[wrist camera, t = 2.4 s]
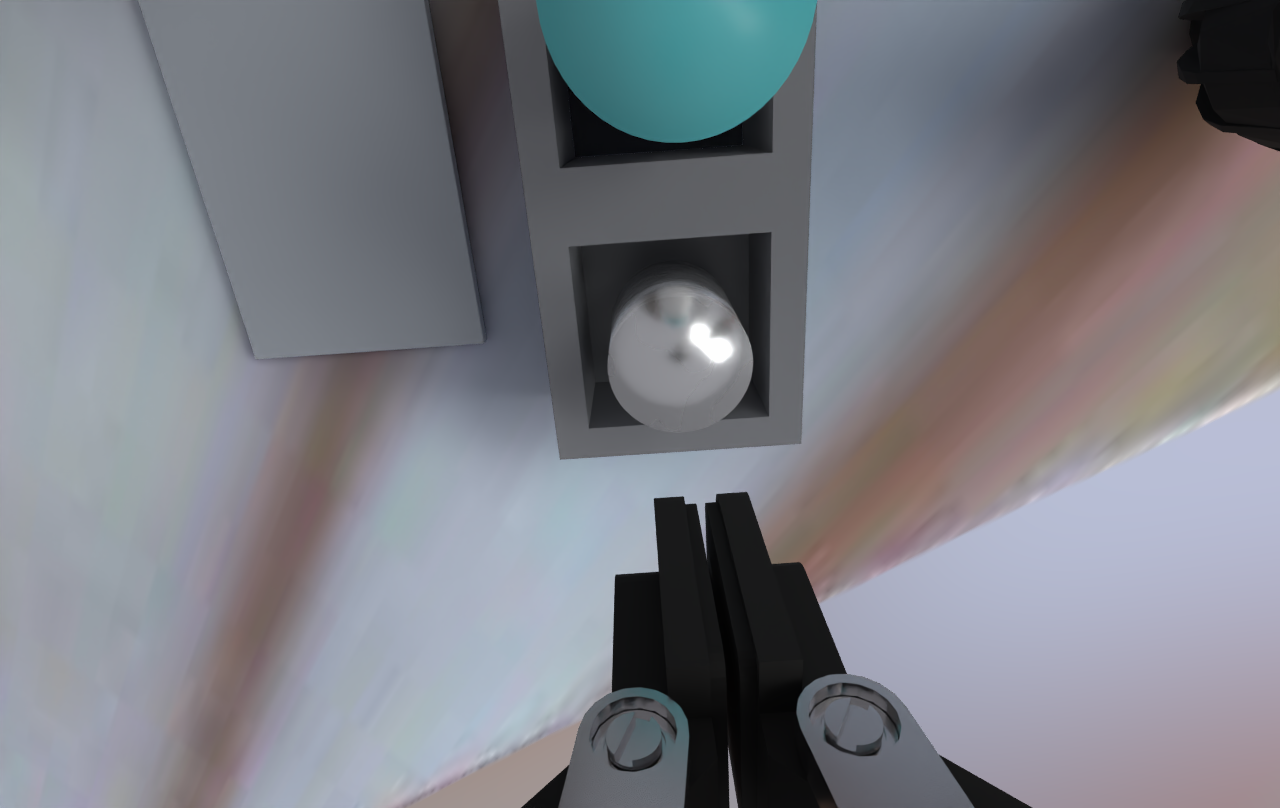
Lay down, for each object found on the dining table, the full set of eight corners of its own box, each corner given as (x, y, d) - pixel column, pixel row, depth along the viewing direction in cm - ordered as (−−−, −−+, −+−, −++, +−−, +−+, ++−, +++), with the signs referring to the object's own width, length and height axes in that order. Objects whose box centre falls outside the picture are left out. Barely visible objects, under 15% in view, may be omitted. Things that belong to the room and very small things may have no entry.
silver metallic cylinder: (607, 264, 23) (600, 301, 19) (729, 256, 23) (753, 290, 19) (617, 378, 25) (614, 436, 21) (730, 370, 25) (753, 427, 21)
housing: (516, -81, 23) (478, -144, 17) (776, -102, 22) (823, -173, 17) (573, 396, 30) (560, 459, 24) (770, 382, 30) (801, 443, 24)
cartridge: (579, -17, 23) (515, -179, 11) (718, -28, 23) (825, -205, 10) (593, 133, 25) (553, 152, 13) (721, 124, 25) (813, 132, 12)
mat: (143, -16, 23) (131, -19, 23) (421, -38, 23) (416, -42, 22) (263, 354, 29) (255, 359, 28) (486, 339, 29) (484, 343, 28)
